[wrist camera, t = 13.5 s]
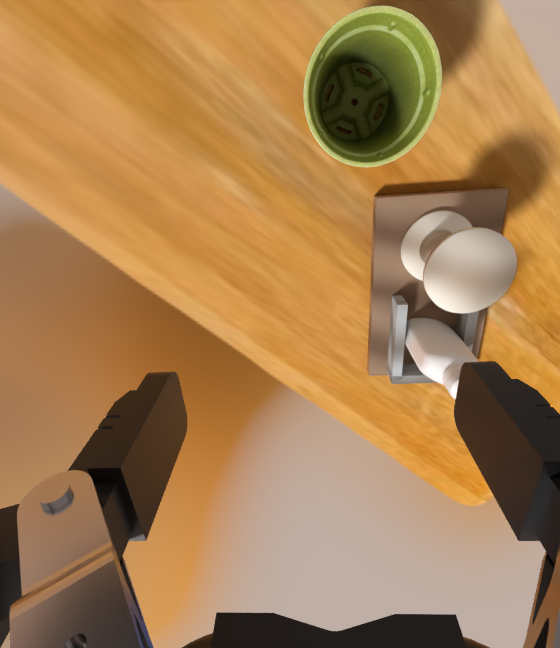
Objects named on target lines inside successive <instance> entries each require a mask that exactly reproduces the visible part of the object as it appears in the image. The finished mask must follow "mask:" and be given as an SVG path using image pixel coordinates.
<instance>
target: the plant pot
mask: <svg viewBox="0 0 560 648" xmlns="http://www.w3.org/2000/svg"><path fill="white" fill-rule="evenodd" d="M359 68H362V69H365V70H368V71H370V72H371V74H372V75H371V77H369V76H367V75H365V74H363V73H360V72H357V70H358V69H359ZM332 84H333V85H334V88H333V90H332V92H331V95H330V98H329V101H328V102H327V100H326V96H327V91H328V89H329V86H331V85H332ZM441 88H442V66H441V60H440V55H439V51H438V48H437V45H436V43H435V41H434V39H433V37H432V35H431V33H430V32H429V31H428V29H427V28H426V27H425V25H424V24H423V23H422V22H421V21H420V20H419V19H418V18H416V17H415V16H414V15H412V14H410V13H408V12H406V11H404V10H402V9H399V8H396V7H392V6H370V7H366V8H362V9H359V10H356V11H354V12H352V13H350V14H348V15H347V16H345V17H344V18H342V19H341V20H339V21H338V22H337V23H335V24H334V25H333V26H332V27H331V28H330V29H329V30H328V31H327V32H326V34H325V35H324V36H323V37H322V39H321V40H320V42H319V43H318V45H317V47H316V49H315V51H314V53H313V55H312V57H311V59H310V62H309V65H308V68H307V71H306V76H305V81H304V108H305V114H306V119H307V121H308V124H309V127H310V129H311V132H312V134H313V136H314V137H315V139H316V140H317V142H318V143H319V145H320V146H321V147H322V148H323V149H324V150H325V151H326V152H327V153H328V154H329V155H330V156H332V157H333V158H335V159H337V160H338V161H340V162H343V163H345V164H348V165H351V166H356V167H376V166H380V165H383V164H386V163H389V162H391V161H394V160H396V159H398V158H399V157H401V156H403V155H404V154H405V153H407V152H408V151H409V150H410V149H412V148H413V147H414V146H415V145H416V144H417V142H418V141H419V140H420V139H421V138H422V136H423V135H424V134H425V132H426V131H427V129H428V127H429V126H430V124H431V122H432V120H433V117H434V115H435V112H436V110H437V107H438V104H439V100H440V95H441ZM353 99H356V100H357V101H358V102H357V104H356V105H352V100H353ZM380 103H382V111H381V113H380V115H379V117H378V118H377V120H374V116H375V114H376V112H377V110H378V106H379V104H380ZM338 126H340V127H341V128H343V129H346V130H350V131H351V133H350V134H347V133H341V132H340V131H338V130H337V127H338Z"/></svg>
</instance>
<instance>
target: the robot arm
mask: <svg viewBox="0 0 560 648" xmlns="http://www.w3.org/2000/svg"><path fill="white" fill-rule="evenodd" d="M454 417H455V423H456V426H457V429H458V431H459V433H460V435H461V437H462V439H463V440H464V442H465V444H466V446H467V448H468V449H469V451H470V453H471V455H472V457H473V459H474V460H475V462H476V464H477V466H478V468H479V470H480V471H481V473H482V475H483V477H484V479H485V480H486V482H487V484H488V486H489V488H490V490H491V491H492V493H493V495H494V497H495V499H496V500H497V502H498V504H499V506H500V507H501V509H502V511H503V513H504V515H505V517H506V519H507V521H508V522H509V524H510V526H511V528H512V530H513V531H514V533H515V535H516V537H517V539H518V540H519V541H540V542H541V543H542V545H543V547H544V548H545V550H546V552H545V555H544V557H543V560H542V565H541V569H540V574H539V579H538V584H537V589H536V593H535V598H534V603H533V607H532V612H531V616H530V621H529V626H528V630H527V635H526V639H525V643H524V646H523V648H560V414H559V413H558V412H557V411H556V410H555V409H554V408H553V407H550V404H549V403H548V402H547V400H546V399H545V398H544V397H543V396H542V395H541V394H540V393H539V392H538V391H537V390H535V389H534V388H532V387H530V386H529V385H527V384H525V383H524V382H522V381H520V380H519V379H511V378H510V377H509V376H508V374H507V373H506V372H505V371H504V370H503V369H502V368H501V367H500V365H499V364H498V363H496V362H494V361H486V362H465V363H463V365H462V367H461V371H460V376H459V382H458V388H457V394H456V400H455V406H454ZM186 431H187V413H186V409H185V404H184V400H183V395H182V391H181V387H180V382H179V378H178V375H177V374H176V372H157V373H156V372H155V373H148V374H147V375H146V376H145V378H144V380H143V381H142V382H141V384H140V386H139V387H138V389H137V390H133V391H129V392H128V393H126V394H125V395H124V396H123V397H121V398H120V399H119V400H117V401H116V402H115V403H114V405H113V406H112V407H111V409H110V410H109V412H108V413H107V415H106V418H104V419H103V421H102V422H101V423H100V425H99V426H98V430H96V431H95V432H94V434H93V435H92V437H91V438H90V440H89V441H88V442H87V444H86V445H85V447H84V448H83V450H82V451H81V453H80V454H79V455H78V457H77V458H76V460H75V461H74V463H73V464H72V465H71V467H70V468H69V470H68V471H65V472H61V473H58V474H55V475H53V476H51V477H49V478H47V479H45V480H43V481H42V482H40V483H39V484H37V485H36V486H35V487H34V488H32V490H30V491H29V492H28V493H27V495H26V496H25V497H24V498H23V500H22V501H21V503H20V504H17V505H14V506H10V507H6V508H3V509H0V647H1V646H2V644H3V642H4V640H5V638H6V636H7V635H8V633H9V631H10V648H153V645H152V642H151V639H150V637H149V634H148V631H147V628H146V625H145V622H144V619H143V616H142V613H141V609H140V607H139V603H138V600H137V597H136V595H135V591H134V588H133V585H132V582H131V579H130V576H129V573H128V569H127V566H126V563H125V560H124V558H123V553H124V551H125V548H126V546H127V543H128V541H146V539H147V537H148V534H149V531H150V529H151V526H152V523H153V521H154V518H155V515H156V513H157V510H158V507H159V505H160V502H161V499H162V497H163V494H164V491H165V489H166V486H167V483H168V481H169V478H170V475H171V473H172V470H173V468H174V465H175V462H176V460H177V457H178V454H179V452H180V449H181V446H182V443H183V441H184V438H185V435H186ZM182 648H489V647H487V646H485V645H482V644H480V643H478V642H476V641H474V640H471V639H468V638H465V637H463V635H462V632H461V629H460V626H459V623H458V620H457V617H456V615H430V614H427V615H426V614H394V615H391V616H388V617H384V618H381V619H378V620H375V621H372V622H368V623H365V624H362V625H358V626H355V627H352V628H349V629H345V630H342V631H328V630H325V629H322V628H319V627H316V626H313V625H309V624H306V623H303V622H299V621H297V620H294V619H290V618H287V617H284V616H281V615H278V614H275V613H216V619H215V625H214V631H213V633H212V634H209V635H206V636H203V637H202V638H199V639H197V640H195V641H193V642H191V643H189V644H187V645H186V646H184V647H182Z"/></svg>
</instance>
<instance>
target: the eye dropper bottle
mask: <svg viewBox="0 0 560 648" xmlns="http://www.w3.org/2000/svg"><path fill="white" fill-rule="evenodd" d="M405 344H406V346H407V348H408V350H409V352H410V354H411V356H412V357H413V359H414V361H415V363H416V365H417V366H418V368H419V370H420V371H421V372H422V373H423V374H424V375H426V376H427V377H428V378H430V379H432V380H434V381H435V382H438V383H440V384H443V385H445V386H446V388H447V390H448V391H449V393H450V395H451V396H452V397H453V398H454V399H456V394H457V388H458V382H459V376H460V371H461V367H462V365H463V363H465V362H479V361H478V360H477V358H476V357H475V356H474V355H473V353H472V352H471V351H470V350H469V348H468V347H467V346H466V345H465V343H464V342H463V341H462V340H461V338H460V337H459V336H458V335H457V333H456V332H455V331H454V330H453V329H452V328H451V327H449V326H448V325H446V324H444V323H443V322H440V321H438V320H434V319H430V318H413V319H409V320H408V321H407V322H406V333H405Z"/></svg>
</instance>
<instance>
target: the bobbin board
mask: <svg viewBox="0 0 560 648" xmlns="http://www.w3.org/2000/svg"><path fill="white" fill-rule="evenodd" d="M508 194H509V189H506V188H502V187H500V188H485V189H470V190H455V191H439V192H424V193H409V194H393V195H378V196H374V212H373V237H372V263H371V289H370V315H369V340H368V366H367V369H368V372H369V376H374V375H389V378H390V380H391V383H392V384H408V383H438V382H435V381H434V380H432V379H430V378H428V377H427V376H426V375H424V374H423V373H422V372H421V371H420V370H419V368H418V366H417V365H416V363H415V361H414V359H413V357H412V356H411V354H410V352H409V350H408V348H407V346H406V344H405V333H406V322H407V321H408V320H409V319H413V318H430V319H434V320H438V321H440V322H443V323H444V324H446V325H448V326H449V327H451V328H452V329H453V330H454V331H455V332H456V333H457V335H458V336H459V337H460V338H461V340H462V341H463V342H464V343H465V345H466V346H467V347H468V348H469V350H470V351H471V352H472V353H473V355H474V356H475V357H476V358H477V359H478V354H479V348H480V343H481V338H482V332H483V327H484V322H485V316H486V311H487V307H488V306H490V305H492V304H493V303H494V302H496V301H497V300H498V299H499V298H501V297H502V296H503V294H504V293H505V292H506V291H507V290H508V288H509V287H510V285H511V283H512V281H513V279H514V277H515V273H516V269H517V257H516V253H515V250H514V248H513V246H512V244H511V243H510V242H509V240H508V239H507V238H505V237H504V236H503V235H501V231H502V226H503V221H504V215H505V210H506V205H507V199H508Z"/></svg>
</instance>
